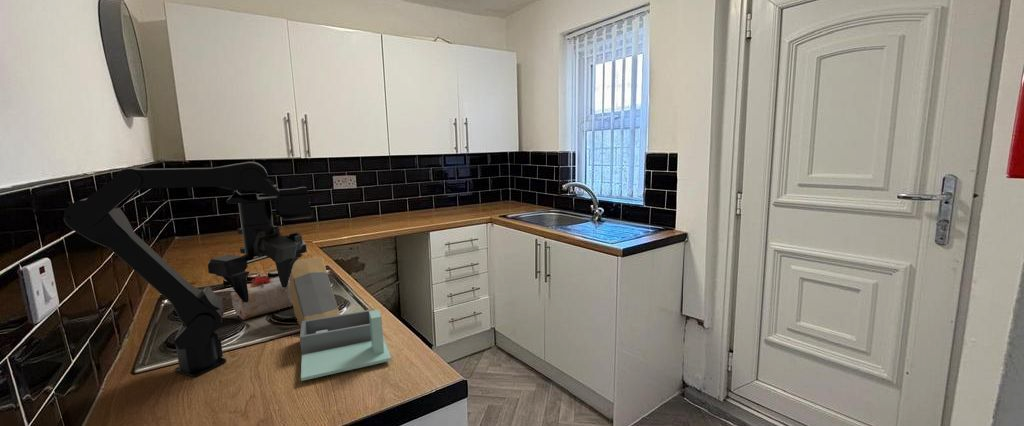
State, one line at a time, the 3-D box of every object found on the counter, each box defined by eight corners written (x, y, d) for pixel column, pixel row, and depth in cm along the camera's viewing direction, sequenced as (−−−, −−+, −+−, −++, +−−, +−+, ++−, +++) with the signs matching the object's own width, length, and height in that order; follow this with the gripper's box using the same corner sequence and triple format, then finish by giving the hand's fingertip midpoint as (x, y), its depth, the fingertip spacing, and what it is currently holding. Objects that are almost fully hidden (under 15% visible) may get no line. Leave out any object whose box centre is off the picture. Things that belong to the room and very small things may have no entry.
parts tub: (301, 357, 90) (299, 337, 89) (303, 339, 98) (301, 320, 97) (380, 342, 96) (378, 323, 95) (376, 326, 104) (374, 309, 104)
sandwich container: (307, 337, 99) (301, 276, 97) (293, 317, 111) (287, 261, 108) (345, 327, 105) (340, 268, 102) (327, 308, 116) (322, 255, 114)
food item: (238, 323, 108) (233, 286, 106) (232, 314, 113) (227, 278, 112) (296, 308, 117) (292, 273, 115) (287, 300, 122) (284, 267, 121)
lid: (301, 385, 80) (296, 338, 78) (302, 362, 89) (297, 318, 87) (391, 364, 87) (388, 320, 85) (384, 344, 95) (381, 304, 94)
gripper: (241, 235, 77) (252, 316, 79) (322, 216, 94) (328, 284, 96) (200, 231, 81) (212, 308, 83) (284, 214, 98) (292, 279, 100)
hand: (266, 294), depth 91 cm, fingers open, 9 cm apart
